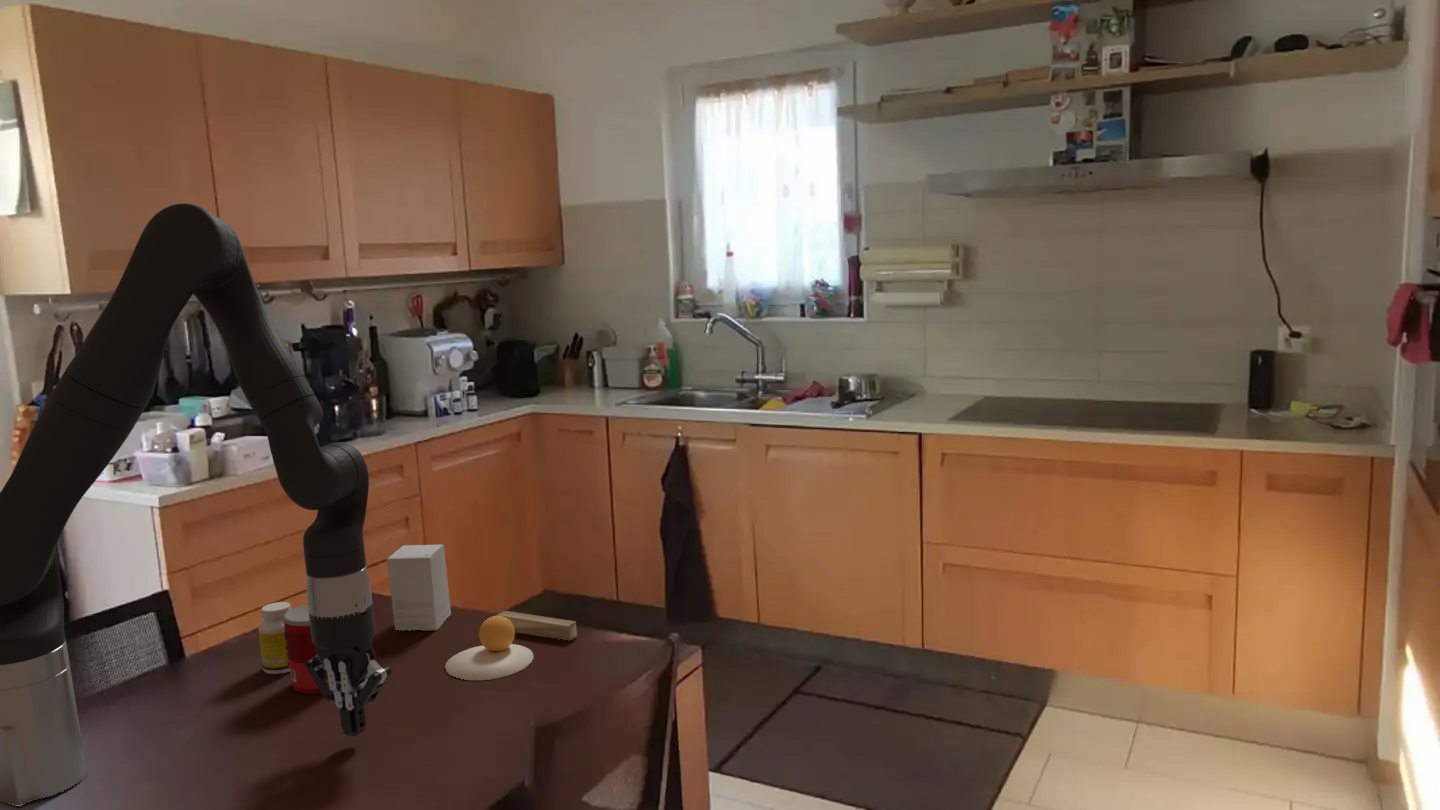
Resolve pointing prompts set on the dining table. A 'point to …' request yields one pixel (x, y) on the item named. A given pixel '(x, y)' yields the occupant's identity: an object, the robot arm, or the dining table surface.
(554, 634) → the stopper wall
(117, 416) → the robot arm
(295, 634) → the canned food
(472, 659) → the disc
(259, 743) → the dining table surface
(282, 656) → the supplement bottle
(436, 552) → the supplement box
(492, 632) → the ball
